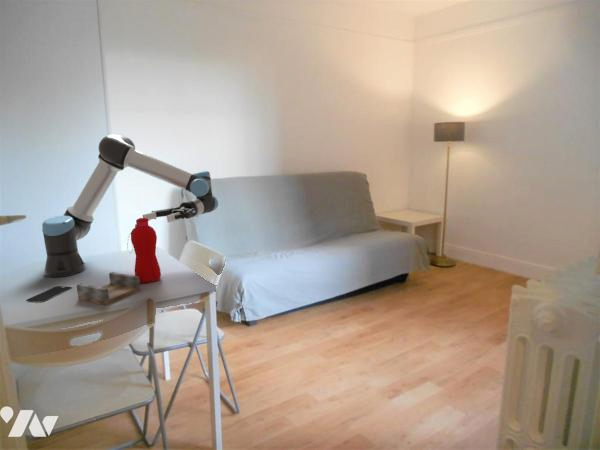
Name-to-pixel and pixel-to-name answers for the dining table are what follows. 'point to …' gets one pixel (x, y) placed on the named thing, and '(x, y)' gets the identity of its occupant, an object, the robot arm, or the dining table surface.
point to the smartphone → (49, 294)
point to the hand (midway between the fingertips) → (155, 218)
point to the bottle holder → (110, 289)
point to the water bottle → (145, 251)
